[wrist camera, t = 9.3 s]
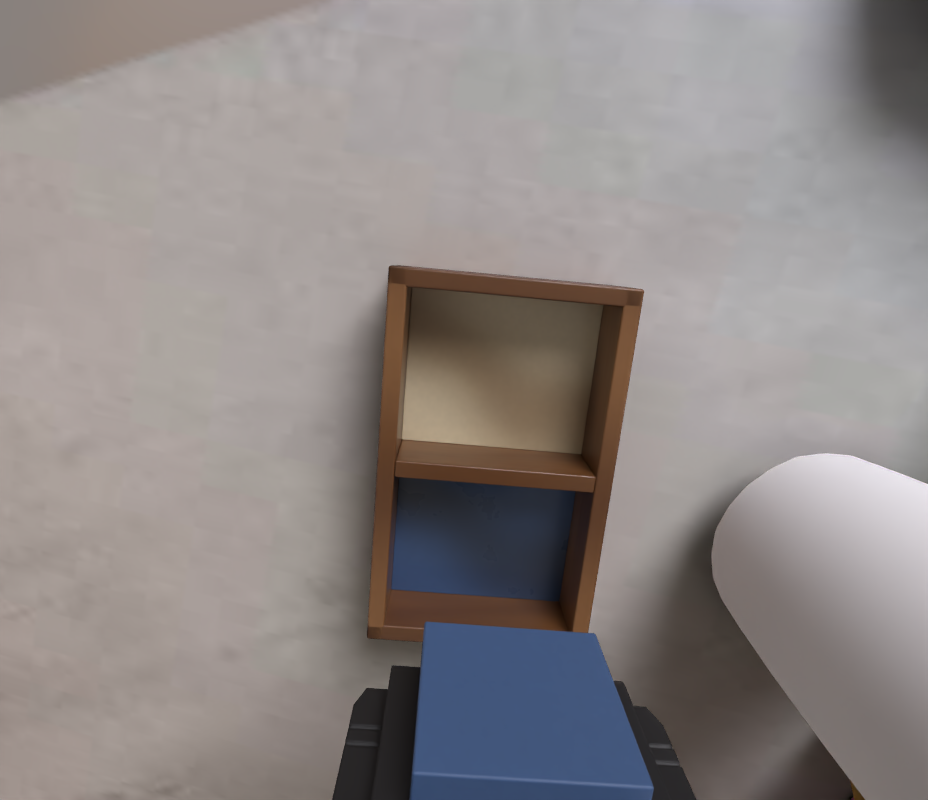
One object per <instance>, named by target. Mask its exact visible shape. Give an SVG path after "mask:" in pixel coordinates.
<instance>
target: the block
mask: <svg viewBox="0 0 928 800" xmlns="http://www.w3.org/2000/svg"><path fill="white" fill-rule="evenodd" d="M653 791H654V787H653V784H652V781H651V779H650V776H649V773H648V771H647V768H646V765H645V763H644V760H643V758H642V755H641V752H640V750H639V747H638V744H637V742H636V739H635V737H634V734H633V731H632V729H631V726H630V723H629V721H628V718H627V716H626V713H625V710H624V708H623V705H622V703H621V700H620V697H619V695H618V692H617V689H616V687H615V684H614V682H613V679H612V676H611V674H610V671H609V668H608V666H607V663H606V661H605V658H604V655H603V653H602V650H601V647H600V645H599V642H598V640H597V637H596V635H595V634H594V633H581V632H567V631H553V630H538V629H524V628H510V627H496V626H482V625H468V624H454V623H440V622H425V624H424V632H423V644H422V655H421V667H420V679H419V691H418V703H417V715H416V727H415V738H414V750H413V762H412V774H411V786H410V798H409V800H652V796H653Z"/></svg>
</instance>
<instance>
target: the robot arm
mask: <svg viewBox="0 0 928 800" xmlns="http://www.w3.org/2000/svg"><path fill="white" fill-rule="evenodd" d="M419 679H420V667H409V666H394V665H392V668H391V674H390V680H389V687H388V689H374V688H366V690H365V691H364V692H363V694H362V695H361V696H360V697H359V699H358V700H357V701H356V702H355V704H354V706H353V710H352V715H351V719H350V724H349V728H348V732H347V737H346V742H345V746H344V750H343V754H342V759H341V763H340V768H339V772H338V776H337V781H336V785H335V790H334V794H333V798H332V800H409V798H410V786H411V774H412V762H413V750H414V738H415V727H416V715H417V703H418V691H419ZM613 682H614V684H615V687H616V689H617V692H618V695H619V697H620V700H621V703H622V705H623V708H624V710H625V713H626V716H627V718H628V721H629V723H630V726H631V729H632V731H633V734H634V737H635V739H636V742H637V744H638V747H639V750H640V752H641V755H642V758H643V760H644V763H645V765H646V768H647V771H648V773H649V776H650V779H651V781H652V784H653V787H654V791H653V796H652V800H696V798H695V796H694V793H693V791H692V789H691V787H690V785H689V782H688V780H687V778H686V776H685V774H684V771H683V769H682V767H680V765H679V763H680V762H679V760H678V758H677V756H676V754H675V751H674V750H672V745H671V743H670V740H669V738H668V736H667V734H666V731H665V729H664V727H663V725H662V724H661V723H660V722H659V721H658V720H657V718H656V717H655V716H654V715H653V714H652V713H651V712H650V711H649V710H648V709H647V708H646V707H639V706H633V704H632V702H631V699H630V697H629V694H628V692H627V689H626V687H625V685H624V683H623V682H621V681H613Z"/></svg>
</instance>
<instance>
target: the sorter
mask: <svg viewBox="0 0 928 800" xmlns="http://www.w3.org/2000/svg"><path fill="white" fill-rule="evenodd" d="M643 294H644V290H642V289H636V288H629V287H621V286H613V285H602V284H591V283H581V282H570V281H560V280H549V279H538V278H528V277H517V276H507V275H496V274H486V273H475V272H464V271H454V270H443V269H433V268H422V267H411V266H401V265H397V266H389V273H388V290H387V307H386V324H385V340H384V357H383V374H382V391H381V408H380V425H379V442H378V458H377V475H376V492H375V509H374V526H373V543H372V560H371V576H370V593H369V610H368V627H367V638H370V639H384V640H399V641H413V642H423V632H424V624H425V622H440V623H454V624H468V625H482V626H496V627H510V628H524V629H538V630H553V631H567V632H581V633H588V629H589V623H590V617H591V610H592V604H593V598H594V592H595V586H596V580H597V574H598V568H599V562H600V556H601V550H602V544H603V538H604V531H605V525H606V519H607V513H608V507H609V501H610V495H611V489H612V483H613V477H614V471H615V465H616V459H617V452H618V446H619V440H620V434H621V428H622V422H623V416H624V410H625V404H626V398H627V392H628V386H629V380H630V373H631V367H632V361H633V355H634V349H635V343H636V337H637V331H638V325H639V319H640V313H641V307H642V301H643Z"/></svg>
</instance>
